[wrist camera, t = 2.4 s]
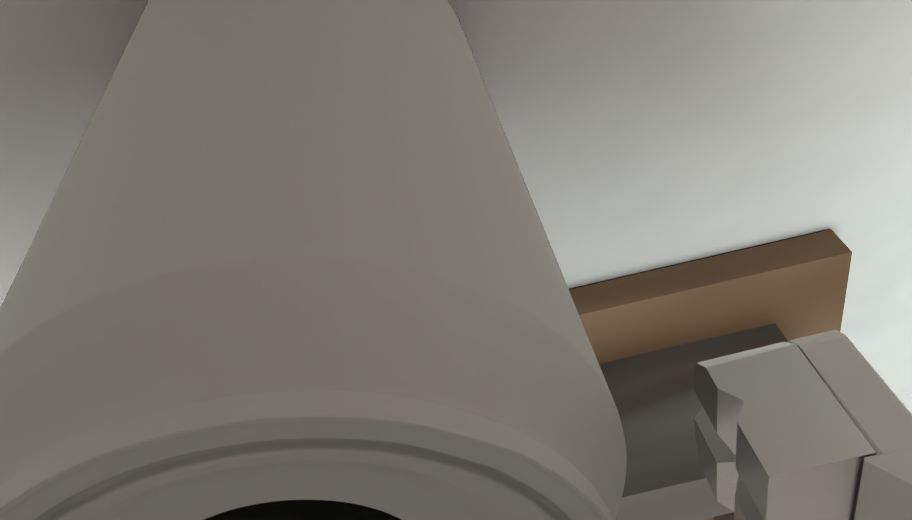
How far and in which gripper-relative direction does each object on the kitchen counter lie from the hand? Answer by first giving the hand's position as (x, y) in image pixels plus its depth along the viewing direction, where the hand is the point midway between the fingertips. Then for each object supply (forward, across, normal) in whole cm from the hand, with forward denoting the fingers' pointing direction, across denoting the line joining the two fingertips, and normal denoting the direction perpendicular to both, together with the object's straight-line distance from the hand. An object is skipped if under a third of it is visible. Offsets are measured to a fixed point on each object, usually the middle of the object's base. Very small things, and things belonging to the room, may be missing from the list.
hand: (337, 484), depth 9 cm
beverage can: (+10, 0, -1) cm, 10 cm away
